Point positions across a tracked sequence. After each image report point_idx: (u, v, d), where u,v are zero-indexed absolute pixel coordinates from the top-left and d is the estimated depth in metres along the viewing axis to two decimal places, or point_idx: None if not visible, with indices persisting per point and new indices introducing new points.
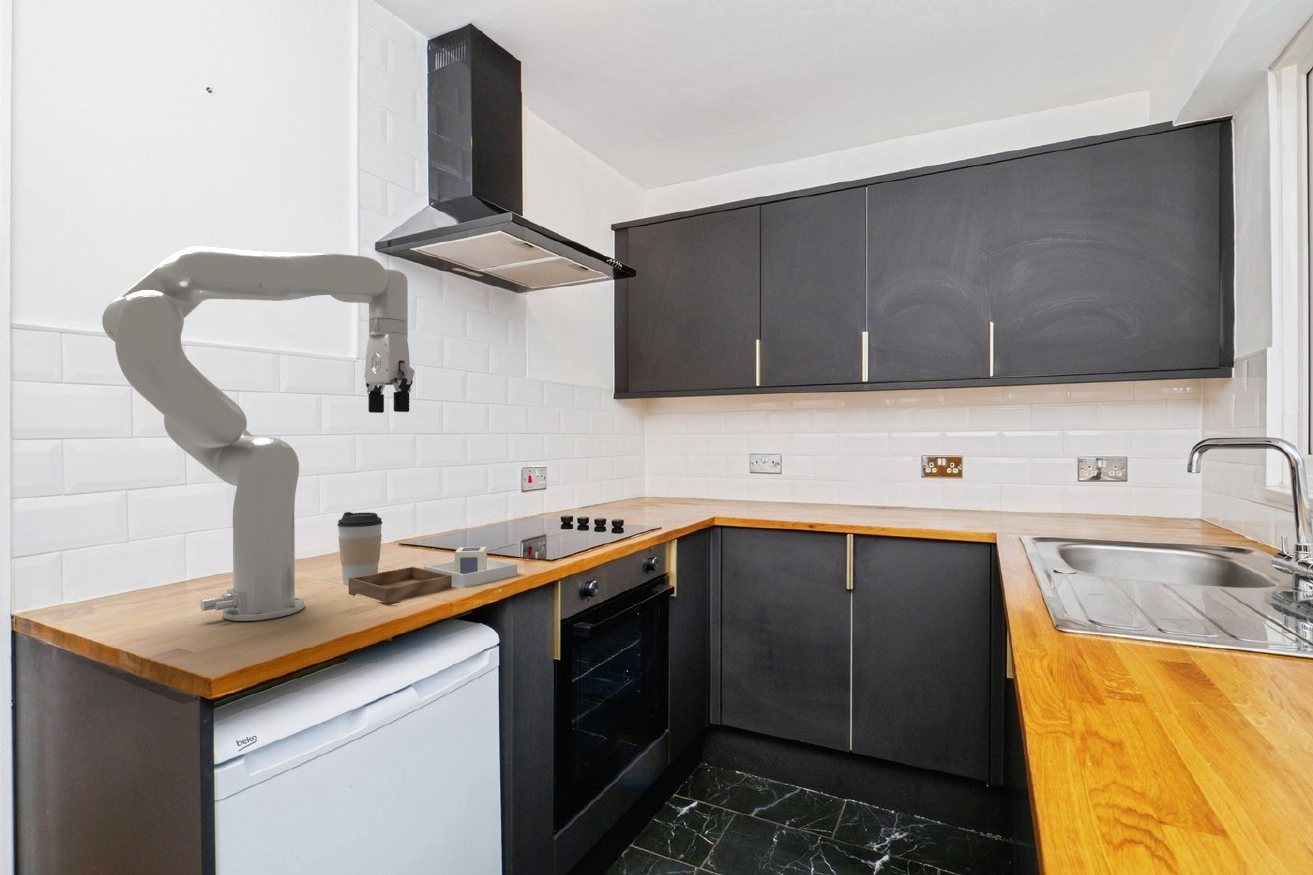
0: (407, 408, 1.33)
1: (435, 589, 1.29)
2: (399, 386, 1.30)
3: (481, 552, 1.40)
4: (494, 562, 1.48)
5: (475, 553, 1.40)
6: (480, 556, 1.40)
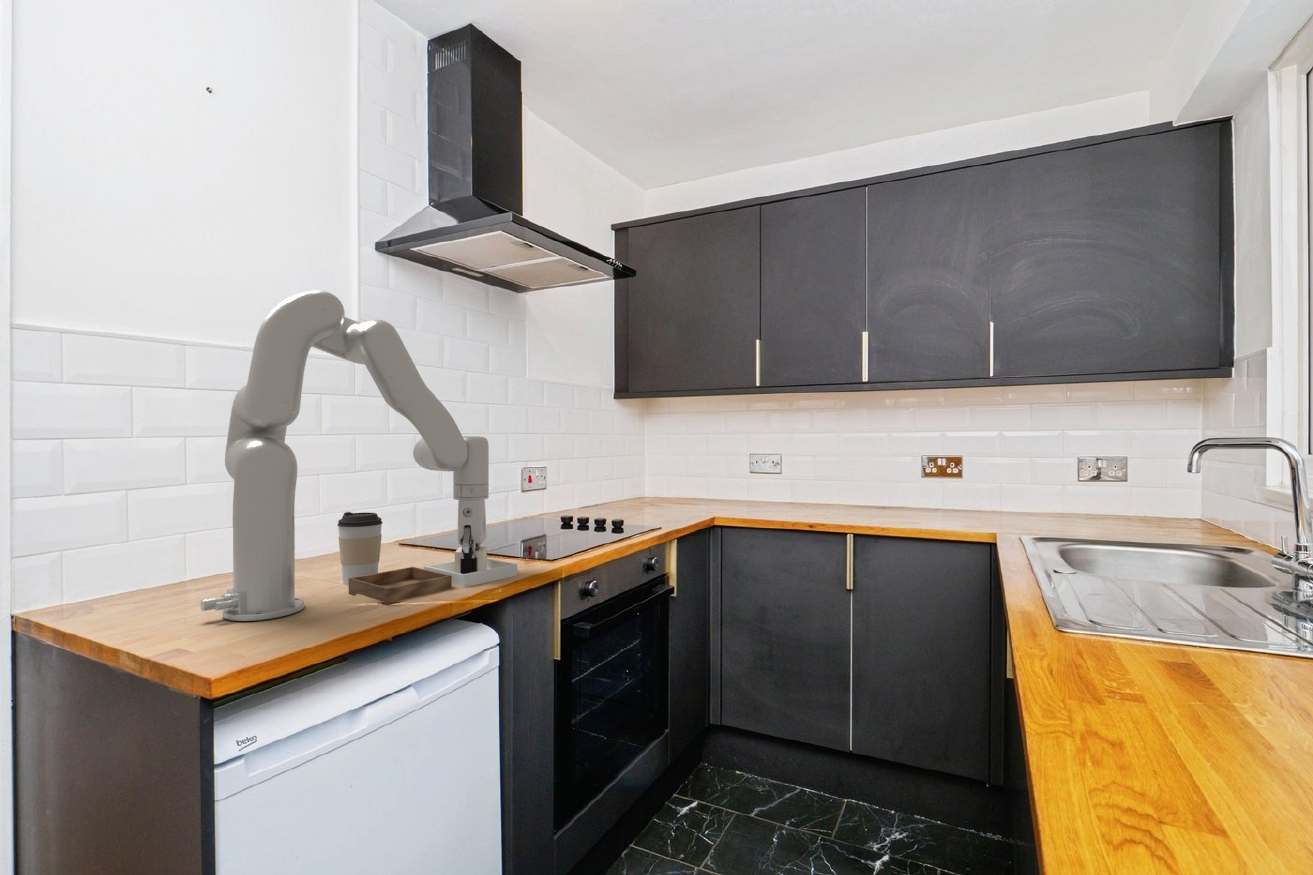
0: None
1: (435, 589, 1.29)
2: None
3: (481, 552, 1.40)
4: (494, 562, 1.48)
5: (475, 553, 1.40)
6: (480, 556, 1.40)
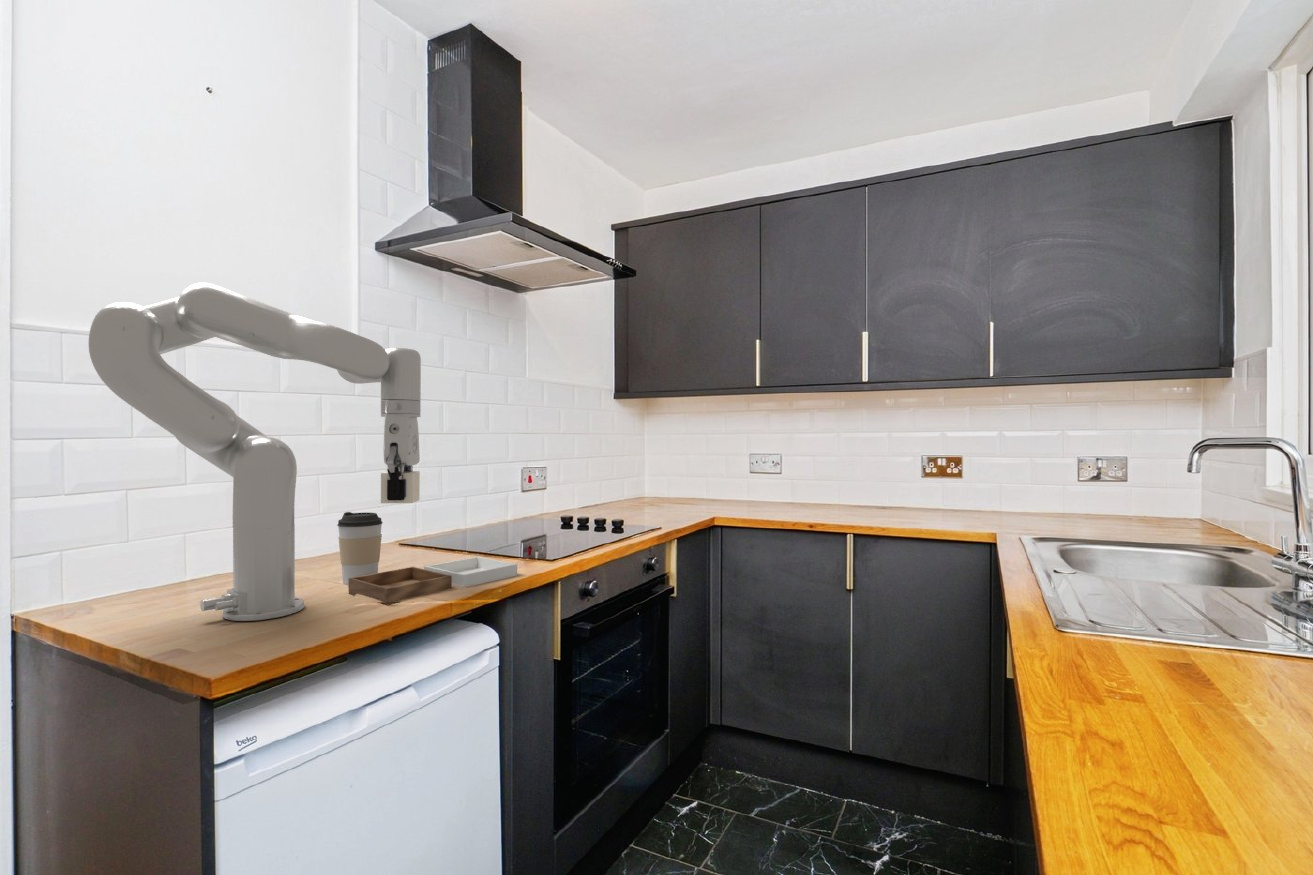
0: None
1: (435, 589, 1.29)
2: None
3: (410, 474, 1.28)
4: (494, 562, 1.48)
5: (404, 474, 1.28)
6: (409, 478, 1.28)
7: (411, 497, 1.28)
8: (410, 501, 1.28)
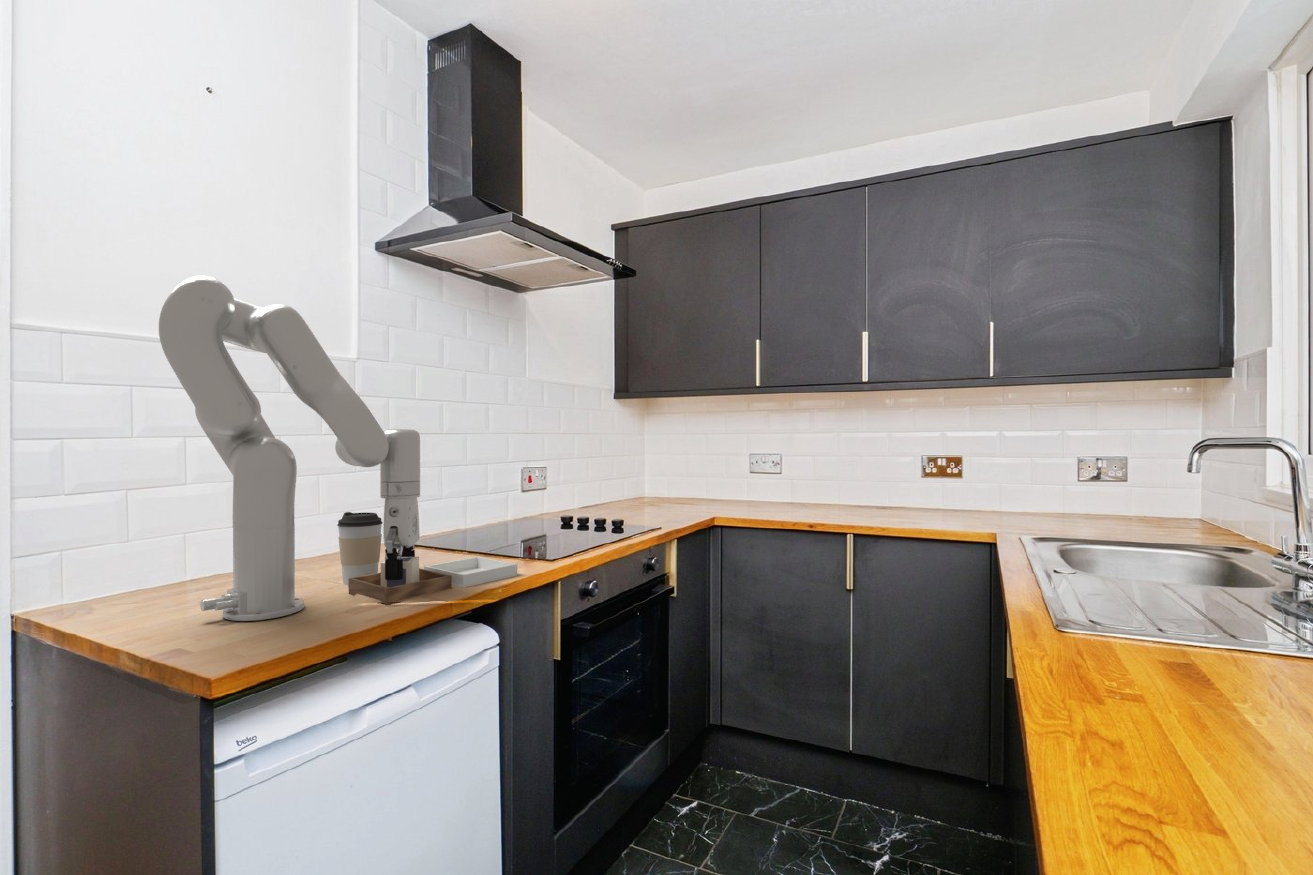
0: None
1: (435, 589, 1.29)
2: None
3: (410, 563, 1.28)
4: (494, 562, 1.48)
5: (403, 564, 1.28)
6: (409, 567, 1.28)
7: None
8: None
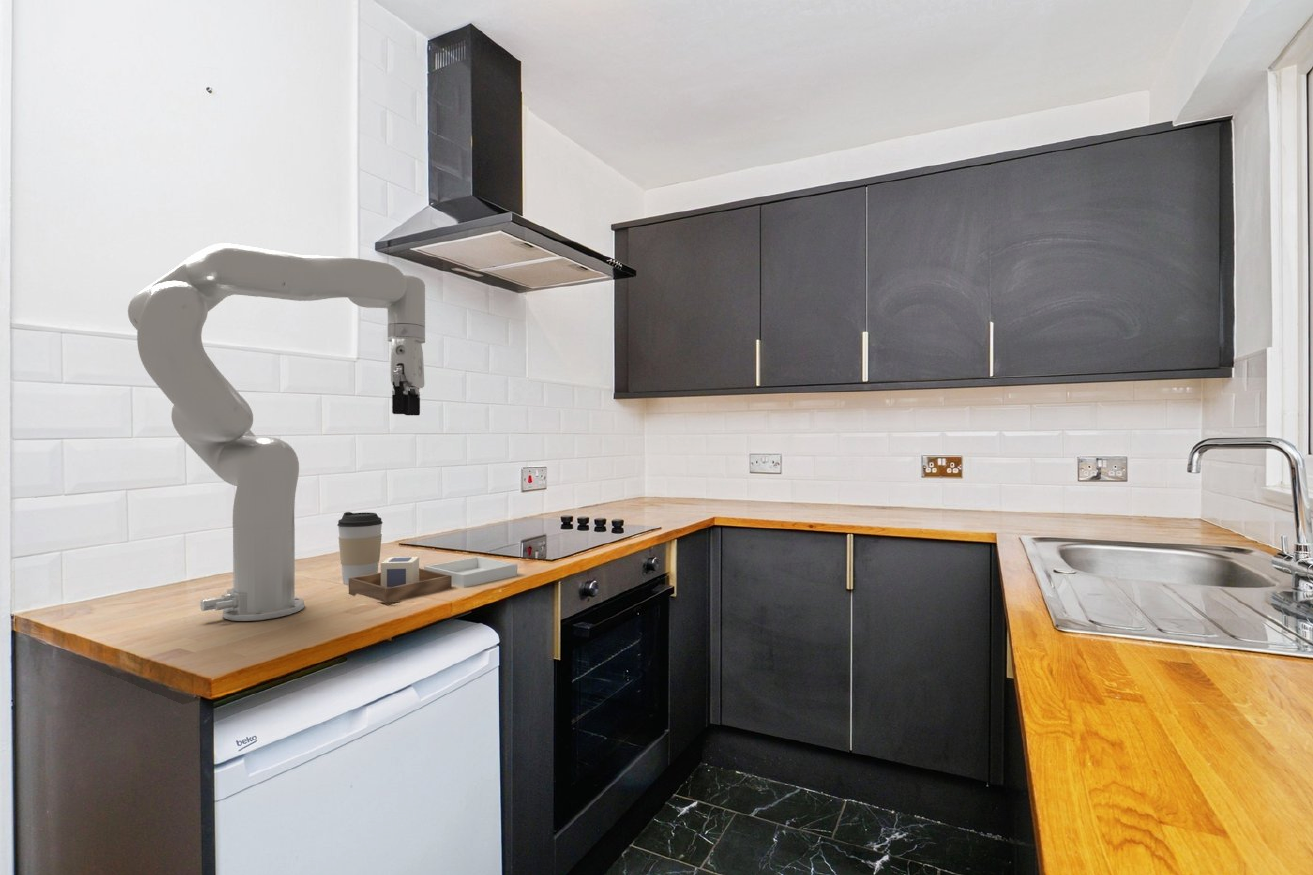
0: None
1: (435, 589, 1.29)
2: None
3: (410, 563, 1.28)
4: (494, 562, 1.48)
5: (403, 564, 1.28)
6: (409, 567, 1.28)
7: None
8: None
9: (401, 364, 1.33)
